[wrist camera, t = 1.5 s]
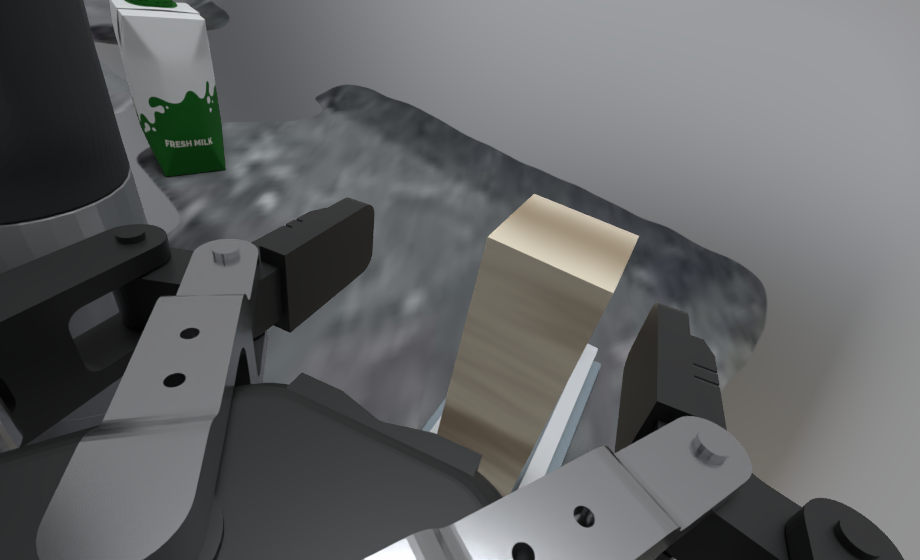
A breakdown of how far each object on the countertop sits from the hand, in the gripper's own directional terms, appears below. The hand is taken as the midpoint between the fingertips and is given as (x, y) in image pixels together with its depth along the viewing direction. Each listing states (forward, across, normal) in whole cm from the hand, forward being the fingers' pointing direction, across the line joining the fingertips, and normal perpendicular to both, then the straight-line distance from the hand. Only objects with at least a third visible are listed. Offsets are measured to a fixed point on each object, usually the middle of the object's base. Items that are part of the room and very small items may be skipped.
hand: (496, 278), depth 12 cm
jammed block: (+8, 0, +21) cm, 23 cm away
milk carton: (+31, +50, +19) cm, 62 cm away
